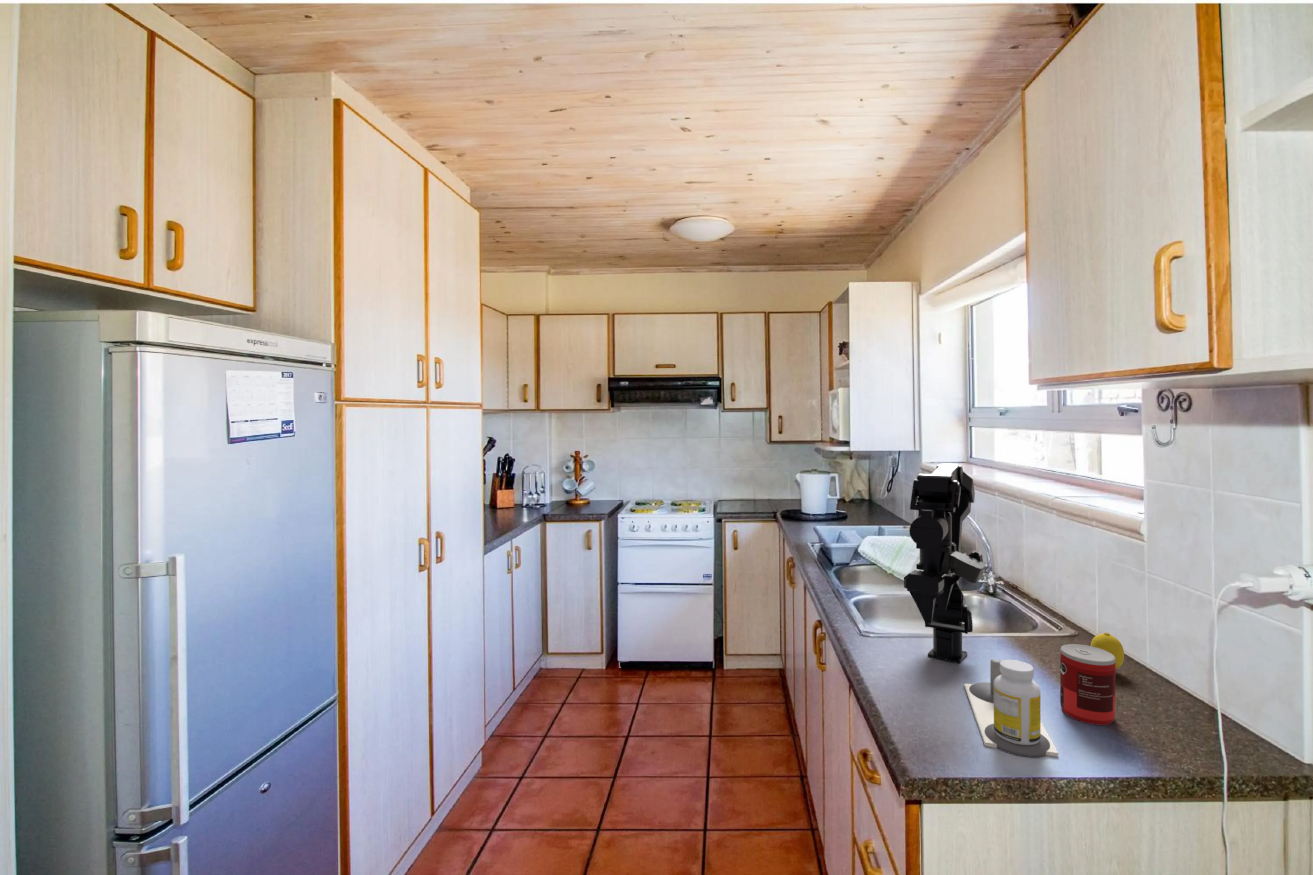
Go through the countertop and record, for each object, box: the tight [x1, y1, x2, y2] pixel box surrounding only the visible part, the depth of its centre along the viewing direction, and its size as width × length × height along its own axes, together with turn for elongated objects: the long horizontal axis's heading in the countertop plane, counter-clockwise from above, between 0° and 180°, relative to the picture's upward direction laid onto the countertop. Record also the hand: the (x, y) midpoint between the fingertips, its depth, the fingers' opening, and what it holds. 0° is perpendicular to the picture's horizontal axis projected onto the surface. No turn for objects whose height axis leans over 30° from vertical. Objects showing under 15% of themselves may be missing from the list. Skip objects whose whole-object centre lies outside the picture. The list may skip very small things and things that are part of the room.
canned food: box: [1059, 643, 1117, 726], centre depth 104 cm, size 8×8×11 cm
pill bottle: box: [994, 659, 1042, 745], centre depth 96 cm, size 6×6×12 cm
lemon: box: [1089, 632, 1125, 670], centre depth 121 cm, size 6×6×8 cm
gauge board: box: [963, 658, 1059, 758], centre depth 104 cm, size 25×10×7 cm, turn 160°
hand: (935, 616), depth 118 cm, fingers open, 9 cm apart
